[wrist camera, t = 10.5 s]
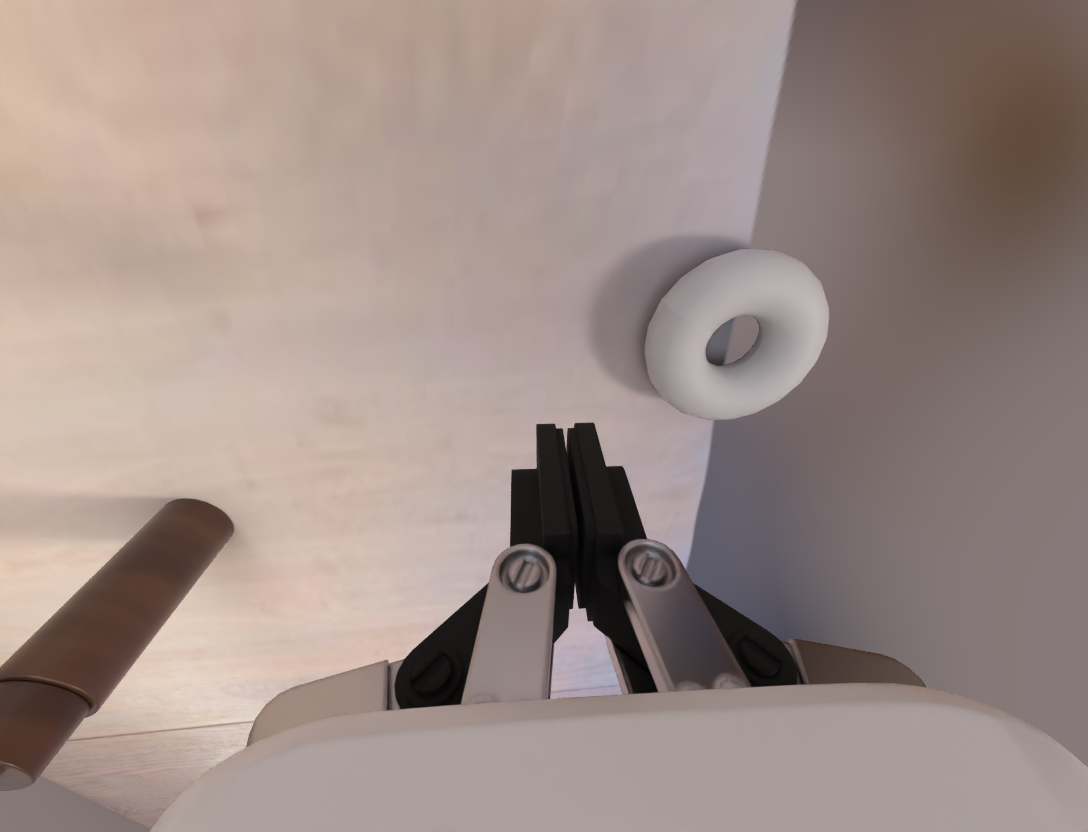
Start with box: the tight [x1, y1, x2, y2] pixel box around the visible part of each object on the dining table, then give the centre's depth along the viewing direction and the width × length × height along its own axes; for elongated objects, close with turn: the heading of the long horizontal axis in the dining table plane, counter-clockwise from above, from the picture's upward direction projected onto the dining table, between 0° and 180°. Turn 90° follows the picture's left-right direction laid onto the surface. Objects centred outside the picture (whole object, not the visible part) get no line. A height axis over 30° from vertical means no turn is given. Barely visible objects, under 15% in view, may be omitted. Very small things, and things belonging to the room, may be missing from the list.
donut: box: [644, 249, 829, 420], centre depth 23 cm, size 10×4×10 cm
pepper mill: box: [0, 499, 233, 791], centre depth 24 cm, size 5×5×16 cm
